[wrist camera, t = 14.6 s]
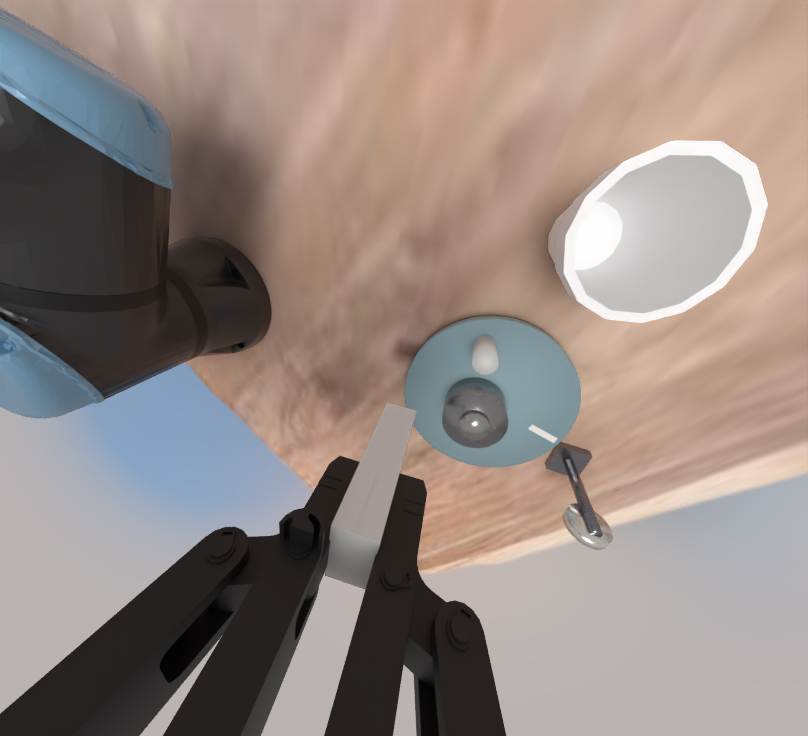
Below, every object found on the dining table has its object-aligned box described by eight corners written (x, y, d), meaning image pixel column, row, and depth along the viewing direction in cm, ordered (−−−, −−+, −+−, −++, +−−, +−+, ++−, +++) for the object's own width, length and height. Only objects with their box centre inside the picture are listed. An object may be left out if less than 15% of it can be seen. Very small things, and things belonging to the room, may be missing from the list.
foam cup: (531, 191, 27) (569, 163, 16) (649, 167, 25) (794, 113, 13) (530, 292, 31) (560, 329, 20) (632, 281, 28) (735, 315, 17)
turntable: (439, 466, 43) (433, 506, 37) (383, 347, 37) (364, 370, 31) (591, 442, 36) (614, 486, 30) (552, 287, 30) (571, 303, 23)
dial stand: (543, 462, 40) (565, 544, 29) (556, 440, 38) (585, 520, 27) (576, 473, 39) (610, 560, 29) (591, 451, 37) (633, 536, 27)
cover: (456, 432, 37) (453, 458, 33) (437, 386, 35) (431, 408, 31) (512, 420, 35) (517, 448, 30) (495, 370, 33) (497, 392, 28)
